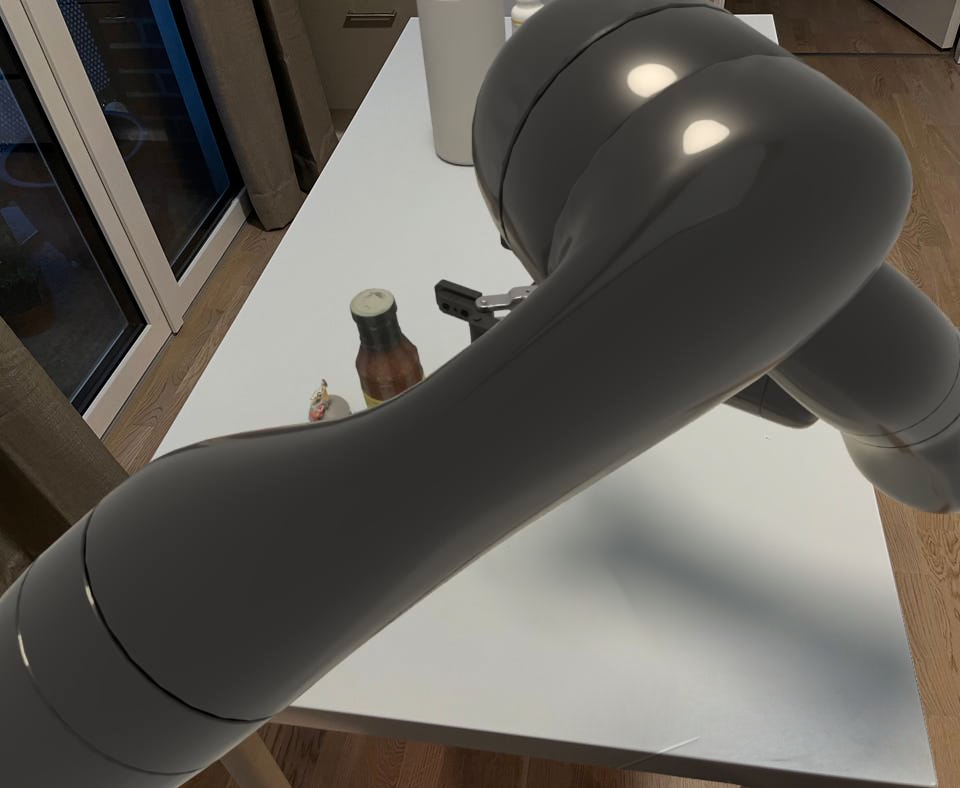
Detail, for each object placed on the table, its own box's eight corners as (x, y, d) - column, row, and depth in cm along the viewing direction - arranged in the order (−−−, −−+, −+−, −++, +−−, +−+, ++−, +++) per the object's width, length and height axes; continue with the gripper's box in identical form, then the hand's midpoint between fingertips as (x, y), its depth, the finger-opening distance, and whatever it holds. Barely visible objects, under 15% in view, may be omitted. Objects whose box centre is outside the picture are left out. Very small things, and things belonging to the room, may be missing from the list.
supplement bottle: (544, 53, 155) (543, -17, 146) (551, 67, 150) (550, -5, 141) (511, 57, 155) (507, -13, 146) (516, 71, 150) (513, -1, 141)
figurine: (361, 419, 88) (351, 380, 84) (334, 445, 85) (322, 406, 81) (327, 401, 90) (315, 363, 86) (299, 426, 88) (286, 387, 84)
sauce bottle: (430, 419, 86) (404, 270, 72) (446, 460, 82) (422, 309, 68) (372, 436, 85) (334, 288, 71) (385, 478, 81) (347, 329, 67)
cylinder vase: (523, 154, 127) (517, -12, 110) (451, 174, 125) (432, 7, 107) (492, 123, 136) (482, -36, 118) (424, 141, 133) (403, -19, 115)
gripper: (722, 226, 54) (519, 173, 61) (627, 349, 46) (406, 271, 53) (708, 313, 59) (523, 254, 66) (621, 436, 51) (420, 354, 58)
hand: (471, 261), depth 60 cm, fingers open, 8 cm apart
